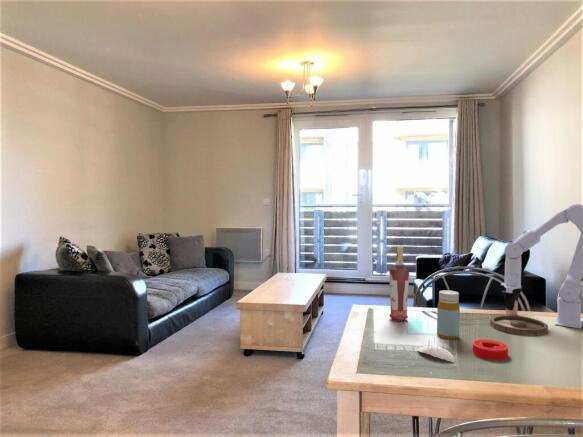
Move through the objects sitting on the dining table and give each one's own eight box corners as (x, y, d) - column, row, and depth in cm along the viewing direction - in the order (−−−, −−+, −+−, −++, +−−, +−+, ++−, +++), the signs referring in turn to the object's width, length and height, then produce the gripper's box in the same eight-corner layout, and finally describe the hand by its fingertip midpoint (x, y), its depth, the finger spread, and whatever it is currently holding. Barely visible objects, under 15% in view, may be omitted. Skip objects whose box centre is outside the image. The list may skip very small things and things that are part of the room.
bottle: (436, 338, 147) (437, 293, 146) (437, 332, 154) (438, 289, 153) (458, 340, 144) (459, 295, 144) (459, 334, 151) (460, 291, 150)
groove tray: (496, 317, 172) (496, 312, 172) (549, 325, 162) (549, 320, 162) (485, 328, 157) (486, 323, 157) (543, 338, 147) (544, 333, 147)
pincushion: (411, 354, 133) (412, 335, 133) (423, 349, 137) (424, 331, 137) (448, 366, 124) (448, 346, 124) (459, 360, 128) (460, 341, 128)
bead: (506, 314, 177) (507, 299, 176) (518, 315, 174) (518, 300, 174) (505, 316, 174) (505, 301, 173) (516, 318, 171) (516, 302, 171)
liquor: (410, 322, 165) (412, 247, 163) (390, 322, 165) (392, 247, 163) (405, 317, 172) (407, 245, 171) (386, 317, 172) (388, 245, 171)
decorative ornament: (478, 346, 140) (478, 337, 140) (511, 354, 134) (511, 343, 133) (468, 355, 132) (468, 344, 132) (502, 363, 126) (503, 352, 126)
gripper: (505, 269, 181) (503, 302, 182) (498, 275, 169) (496, 310, 170) (524, 271, 177) (523, 305, 178) (518, 277, 165) (517, 313, 166)
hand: (511, 307), depth 174 cm, fingers open, 7 cm apart
